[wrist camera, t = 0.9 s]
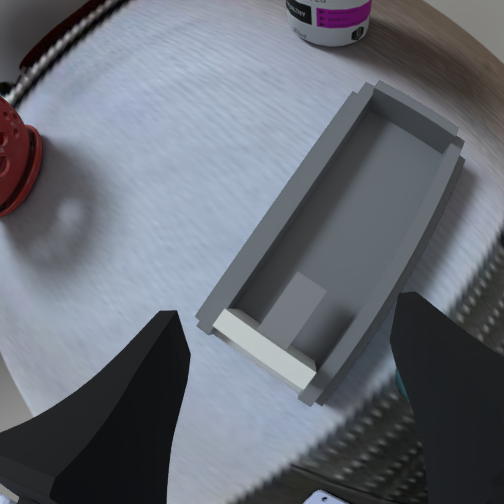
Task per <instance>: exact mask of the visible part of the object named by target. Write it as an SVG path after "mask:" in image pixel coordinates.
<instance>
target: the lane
mask: <svg viewBox="0 0 504 504" xmlns="http://www.w3.org/2000/svg"><path fill="white" fill-rule="evenodd" d="M458 129H459V127H457V126H456V125H454V124H453V123H451V122H450V121H448V120H447V119H445V118H444V117H442V116H441V115H439V114H438V113H436V112H435V111H433V110H431V109H430V108H428V107H427V106H425V105H423V104H422V103H420V102H418V101H417V100H415V99H413V98H411V97H410V96H408V95H406V94H404V93H403V92H401V91H399V90H397V89H395V88H394V87H392V86H390V85H388V84H386V83H384V82H382V81H380V80H379V81H378V82H377V84H376V85H375V86H373V85H371V84H369V83H367V82H366V83H365V84H364V86H363V87H362V88H361V90H360V91H359V93H358V94H357V93H355V92H353V91H352V93H351V94H350V96H349V97H348V98H347V100H346V101H345V103H344V104H343V105H342V107H341V108H340V110H339V111H338V112H337V114H336V115H335V117H334V118H333V119H332V121H331V122H330V124H329V125H328V126H327V128H326V129H325V131H324V132H323V133H322V135H321V136H320V138H319V139H318V140H317V142H316V143H315V145H314V146H313V147H312V149H311V150H310V152H309V153H308V154H307V156H306V157H305V159H304V160H303V162H302V163H301V164H300V166H299V167H298V169H297V170H296V171H295V173H294V174H293V176H292V177H291V179H290V180H289V181H288V183H287V184H286V186H285V187H284V189H283V190H282V191H281V193H280V194H279V196H278V197H277V198H276V200H275V201H274V203H273V204H272V206H271V207H270V208H269V210H268V211H267V213H266V214H265V216H264V217H263V218H262V220H261V221H260V223H259V224H258V226H257V227H256V228H255V230H254V231H253V233H252V234H251V236H250V237H249V239H248V240H247V241H246V243H245V244H244V246H243V247H242V249H241V250H240V251H239V253H238V254H237V256H236V257H235V259H234V260H233V262H232V263H231V264H230V266H229V267H228V269H227V270H226V272H225V273H224V275H223V276H222V277H221V279H220V280H219V282H218V283H217V285H216V286H215V288H214V289H213V290H212V292H211V293H210V295H209V296H208V298H207V299H206V301H205V302H204V304H203V305H202V306H201V308H200V309H199V311H198V312H197V314H196V315H195V317H196V318H197V319H199V320H200V321H199V323H198V324H197V325H196V326H197V327H198V328H200V329H201V330H202V331H203V332H205V333H206V334H207V335H211V334H214V335H215V336H217V337H218V338H219V339H221V340H222V341H223V342H225V343H226V344H227V345H229V346H230V347H232V348H233V349H234V350H236V351H237V352H238V353H240V354H241V355H242V356H244V357H245V358H247V359H248V360H249V361H251V362H252V363H254V364H255V365H256V366H258V367H259V368H261V369H262V370H264V371H265V372H266V373H268V374H269V375H271V376H272V377H274V378H275V379H277V380H278V381H280V382H281V383H282V384H284V385H285V386H287V387H288V388H290V389H291V390H293V391H294V392H296V393H297V394H298V399H299V400H300V401H302V402H303V403H305V404H307V405H308V406H310V407H311V406H312V405H313V403H314V402H316V403H318V404H319V405H321V406H323V404H324V403H325V402H326V401H327V399H328V398H329V397H330V395H331V394H332V393H333V391H334V390H335V389H336V387H337V386H338V385H339V384H340V382H341V381H342V379H343V378H344V377H345V375H346V374H347V373H348V371H349V370H350V369H351V367H352V366H353V364H354V363H355V361H356V360H357V359H358V357H359V356H360V354H361V353H362V351H363V350H364V349H365V347H366V346H367V344H368V343H369V341H370V340H371V338H372V337H373V335H374V334H375V332H376V331H377V329H378V327H379V326H380V324H381V323H382V321H383V320H384V318H385V316H386V315H387V313H388V312H389V310H390V308H391V307H392V305H393V304H394V302H395V300H396V299H397V297H398V294H399V293H400V292H401V290H402V288H403V287H404V285H405V283H406V281H407V280H408V278H409V276H410V274H411V273H412V271H413V269H414V267H415V265H416V264H417V262H418V260H419V258H420V256H421V254H422V252H423V251H424V249H425V247H426V245H427V243H428V241H429V239H430V237H431V235H432V233H433V231H434V229H435V227H436V225H437V223H438V221H439V219H440V217H441V215H442V212H443V210H444V208H445V206H446V204H447V202H448V199H449V197H450V195H451V193H452V190H453V188H454V186H455V183H456V181H457V179H458V176H459V174H460V171H461V169H462V167H463V164H464V162H465V159H464V158H463V157H461V156H460V153H461V150H462V148H463V145H464V142H465V141H464V140H462V139H461V138H459V137H458V136H457V135H456V134H457V132H458ZM297 271H298V272H299V273H301V274H302V275H304V276H305V277H307V278H308V279H310V280H311V281H313V282H314V283H316V284H317V285H319V286H320V287H322V288H323V289H325V290H326V291H327V292H326V293H325V295H324V296H323V298H322V299H321V301H320V302H319V304H318V305H317V307H316V308H315V310H314V311H313V312H312V314H311V315H310V317H309V318H308V320H307V321H306V323H305V324H304V325H303V327H302V328H301V330H300V331H299V333H298V334H297V335H296V337H295V338H294V340H293V341H292V342H291V344H290V345H292V346H293V347H295V348H296V349H298V350H299V351H301V352H302V353H304V354H305V355H307V356H308V357H310V358H311V359H312V360H314V361H315V365H316V372H317V373H316V374H315V376H314V377H313V378H312V380H311V381H310V382H309V383H308V385H307V386H306V387H305V389H304V390H303V389H301V388H300V387H298V386H297V385H295V384H294V383H292V382H291V381H289V380H288V379H286V378H285V377H283V376H282V375H280V374H279V373H278V372H276V371H275V370H273V369H272V368H270V367H269V366H267V365H266V364H265V363H263V362H262V361H260V360H259V359H257V358H256V357H255V356H253V355H252V354H250V353H249V352H248V351H246V350H245V349H243V348H242V347H241V346H239V345H238V344H237V343H235V342H234V341H232V340H231V339H230V338H228V337H227V336H226V335H224V334H223V333H222V332H220V331H219V330H218V329H216V328H215V327H214V326H213V324H214V323H215V321H216V320H217V318H218V317H219V316H220V314H221V313H222V311H223V310H224V308H228V309H241V310H242V311H243V312H245V313H246V314H247V315H249V316H250V317H252V318H253V319H255V320H256V321H257V322H259V323H260V324H261V323H262V322H263V320H264V319H265V317H266V316H267V314H268V313H269V312H270V310H271V309H272V307H273V306H274V304H275V303H276V302H277V300H278V299H279V297H280V296H281V294H282V293H283V291H284V290H285V289H286V287H287V286H288V284H289V283H290V281H291V280H292V278H293V277H294V275H295V274H296V272H297Z"/></svg>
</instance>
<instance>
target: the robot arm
mask: <svg viewBox="0 0 504 504" xmlns="http://www.w3.org/2000/svg"><path fill="white" fill-rule="evenodd" d="M390 343H391V347H392V352H393V356H394V359H395V363H396V367H397V369H398V372H399V375H400V377H401V380H402V383H403V385H404V388H405V391H406V393H407V396H408V399H409V401H410V404H411V407H412V410H413V412H414V415H415V418H416V422H417V425H418V429H419V434H420V438H421V444H422V449H423V455H424V461H425V468H426V477H427V488H428V504H504V357H503V356H501V355H499V354H498V353H496V352H494V351H493V350H491V349H490V348H488V347H487V346H485V345H484V344H482V343H481V342H480V341H478V340H477V339H475V338H474V337H473V336H471V335H470V334H469V333H467V332H466V331H465V330H463V329H462V328H461V327H459V326H458V325H457V324H456V323H454V322H453V321H452V320H451V319H449V318H448V317H447V316H446V315H444V314H443V313H442V312H441V311H439V310H438V309H437V308H436V307H435V306H433V305H432V304H431V303H430V302H428V301H427V300H426V299H424V298H423V297H422V296H421V295H419V294H418V293H416V292H408V293H399V294H398V300H397V305H396V311H395V316H394V321H393V326H392V331H391V336H390ZM190 357H191V353H190V350H189V347H188V344H187V341H186V338H185V335H184V332H183V328H182V325H181V322H180V319H179V315H178V312H177V310H171V311H159V312H158V313H157V314H156V315H155V316H154V317H153V318H152V319H151V320H150V321H149V322H148V323H147V325H146V326H145V327H144V328H143V329H142V330H141V331H140V332H139V333H138V334H137V335H136V336H135V337H134V338H133V339H132V340H131V342H130V343H129V344H128V345H127V346H126V347H125V348H124V349H123V350H122V351H121V352H120V353H119V354H118V355H117V356H116V357H115V358H114V359H113V360H111V361H110V362H109V363H108V364H107V365H106V366H105V367H104V368H103V369H102V370H101V371H100V372H99V373H98V374H97V375H95V376H94V377H93V378H92V379H91V380H89V381H88V382H87V383H86V384H84V385H83V386H82V387H81V388H79V389H78V390H77V391H75V392H74V393H73V394H71V395H70V396H68V397H67V398H65V399H64V400H62V401H61V402H59V403H58V404H56V405H55V406H53V407H52V408H50V409H48V410H47V411H45V412H43V413H41V414H40V415H38V416H36V417H34V418H32V419H30V420H28V421H26V422H24V423H22V424H20V425H17V426H15V427H13V428H10V429H8V430H6V431H3V432H1V433H0V483H1V484H2V485H3V486H5V487H6V488H7V489H9V490H10V491H11V492H13V493H14V494H16V495H17V496H19V500H18V503H16V502H14V501H13V500H11V499H9V498H8V497H6V496H4V495H2V494H1V493H0V504H166V503H167V484H168V472H169V463H170V454H171V446H172V441H173V436H174V432H175V428H176V424H177V420H178V416H179V412H180V408H181V404H182V401H183V397H184V393H185V389H186V385H187V381H188V374H189V366H190ZM323 497H327V499H322V498H323ZM303 504H350V503H348V502H345V501H343V500H341V499H339V498H337V497H335V496H333V495H331V494H329V493H327V492H325V491H323V490H318V491H316V492H314V493H313V494H312V495H311V496H310V497H309V498H308V499H307V500H306V501H305V502H304V503H303Z"/></svg>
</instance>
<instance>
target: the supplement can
mask: <svg viewBox="0 0 504 504" xmlns="http://www.w3.org/2000/svg"><path fill="white" fill-rule="evenodd" d="M371 1H372V0H286V6H287V14H288V22H289V25H290V27H291V29H292V31H293V32H294V33H296V34H297V35H298V36H300V37H301V38H302V39H305V40H307V41H309V42H312V43H314V44H317V45H322V46H328V47H335V46H344V45H348V44H351V43H354V42H357V41H358V40H360V39H361V38H363V37H364V36H365V34H366V32H367V30H368V25H369V18H370V10H371Z"/></svg>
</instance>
